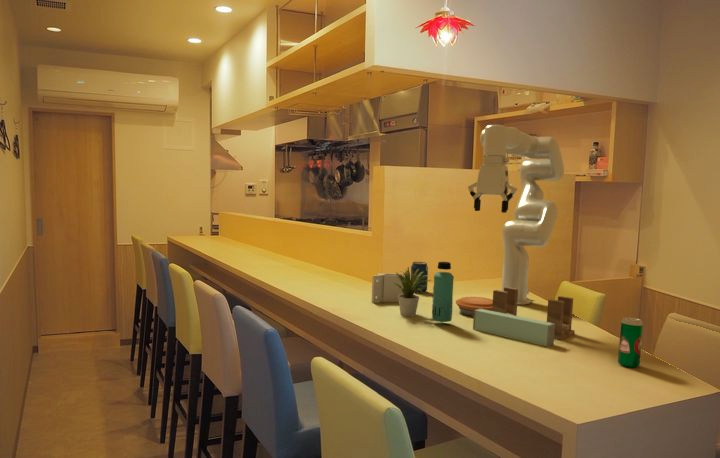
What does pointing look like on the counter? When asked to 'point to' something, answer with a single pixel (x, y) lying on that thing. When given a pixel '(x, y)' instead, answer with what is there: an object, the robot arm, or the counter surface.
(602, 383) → the counter surface
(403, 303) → the house plant
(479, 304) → the pie
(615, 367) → the counter surface
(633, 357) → the soda can
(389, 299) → the hinge
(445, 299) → the beverage bottle
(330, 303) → the counter surface
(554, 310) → the post stand
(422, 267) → the soda can
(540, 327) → the rail
